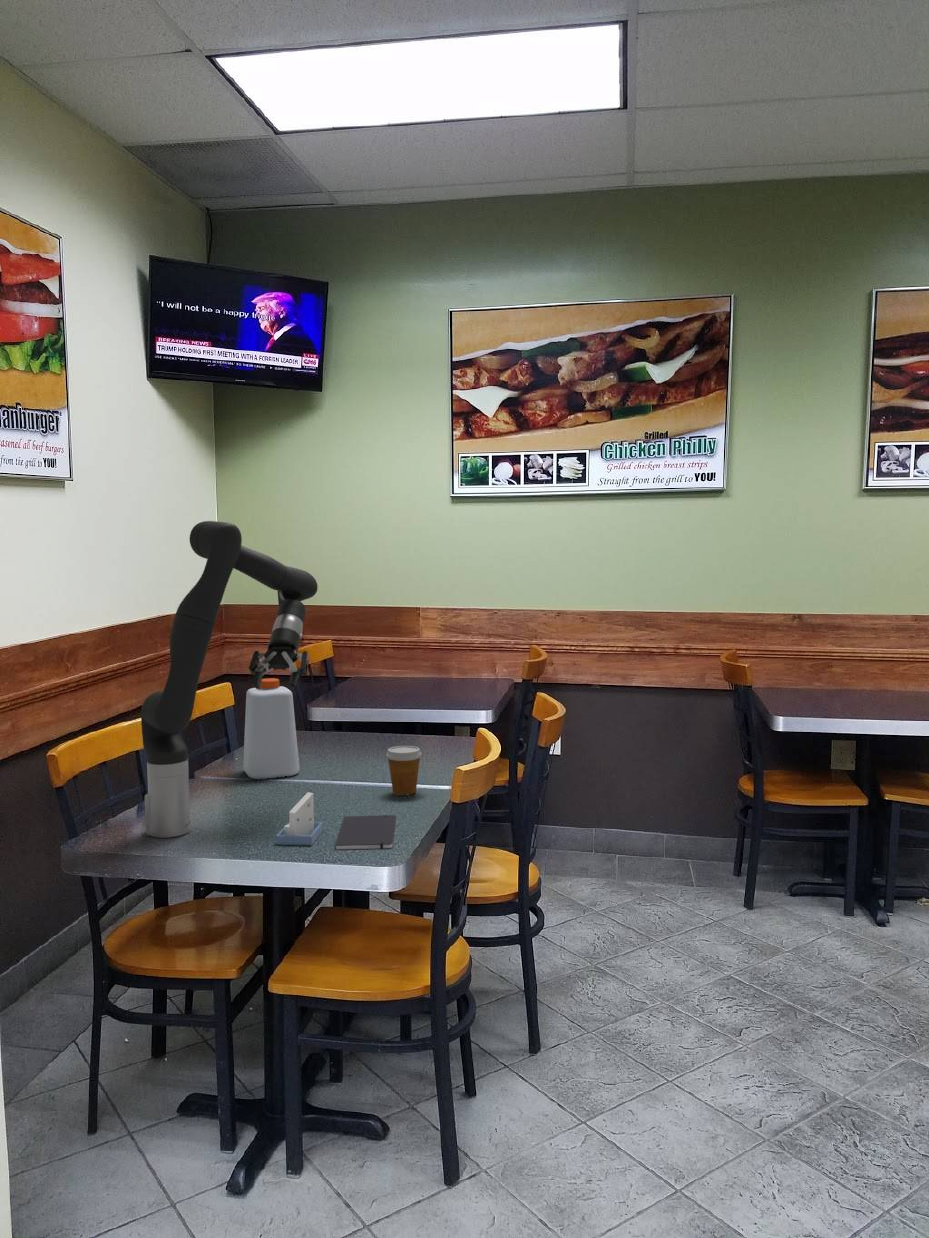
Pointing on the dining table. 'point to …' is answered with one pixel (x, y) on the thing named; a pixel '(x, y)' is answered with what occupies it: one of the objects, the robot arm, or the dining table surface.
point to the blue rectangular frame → (299, 836)
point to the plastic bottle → (270, 732)
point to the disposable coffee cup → (404, 768)
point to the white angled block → (301, 817)
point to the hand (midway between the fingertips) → (273, 687)
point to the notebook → (366, 832)
